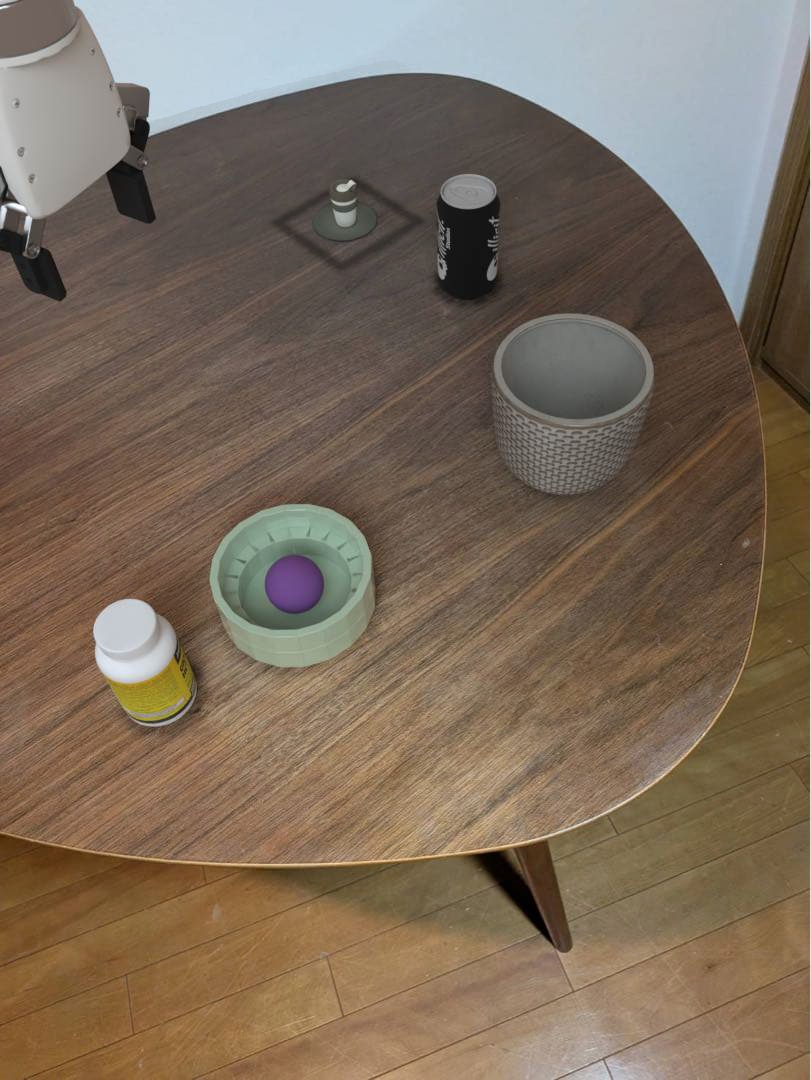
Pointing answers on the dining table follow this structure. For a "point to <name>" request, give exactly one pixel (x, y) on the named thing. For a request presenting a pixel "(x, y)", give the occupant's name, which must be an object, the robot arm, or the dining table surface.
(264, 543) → the bowl
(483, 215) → the beverage can
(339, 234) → the coffee cup
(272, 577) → the ball
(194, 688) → the pill bottle
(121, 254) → the dining table surface
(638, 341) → the planter
